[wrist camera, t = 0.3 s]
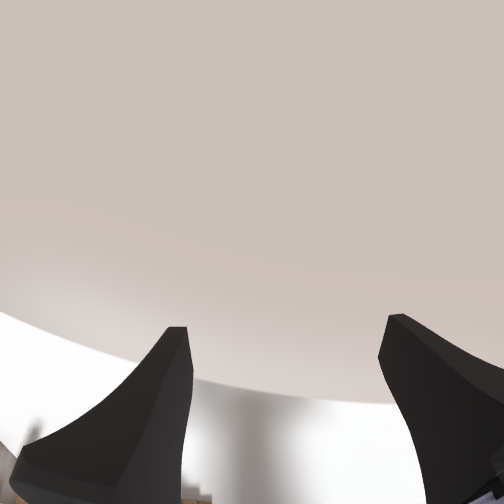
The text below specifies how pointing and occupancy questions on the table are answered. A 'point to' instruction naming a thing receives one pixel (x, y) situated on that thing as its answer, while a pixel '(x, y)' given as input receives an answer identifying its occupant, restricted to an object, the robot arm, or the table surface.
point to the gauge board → (3, 464)
